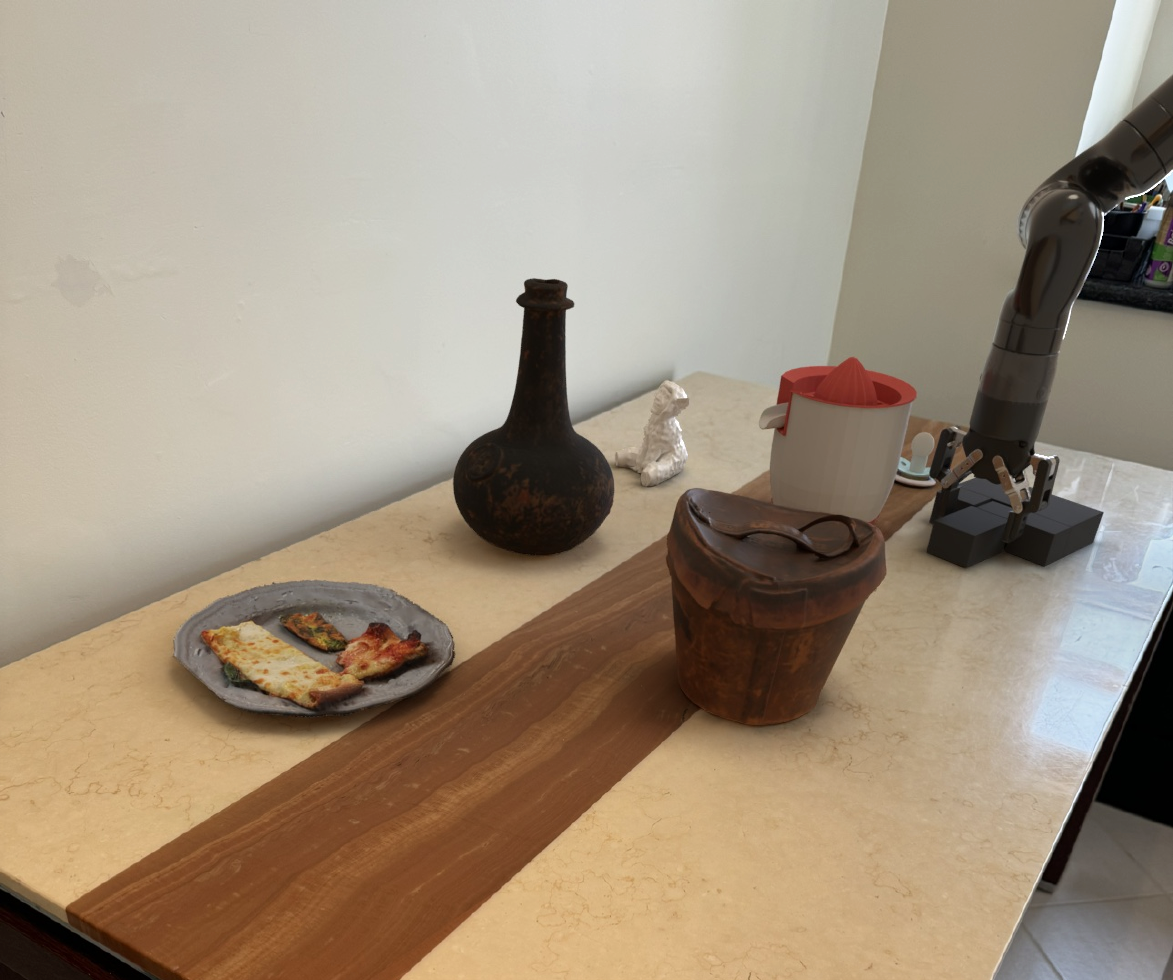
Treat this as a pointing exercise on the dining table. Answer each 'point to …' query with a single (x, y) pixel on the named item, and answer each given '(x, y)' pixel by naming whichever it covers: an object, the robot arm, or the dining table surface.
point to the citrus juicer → (837, 438)
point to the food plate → (314, 648)
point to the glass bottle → (536, 449)
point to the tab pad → (970, 534)
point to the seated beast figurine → (659, 439)
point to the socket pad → (1035, 522)
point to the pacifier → (917, 462)
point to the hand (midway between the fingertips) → (976, 529)
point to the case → (764, 601)
